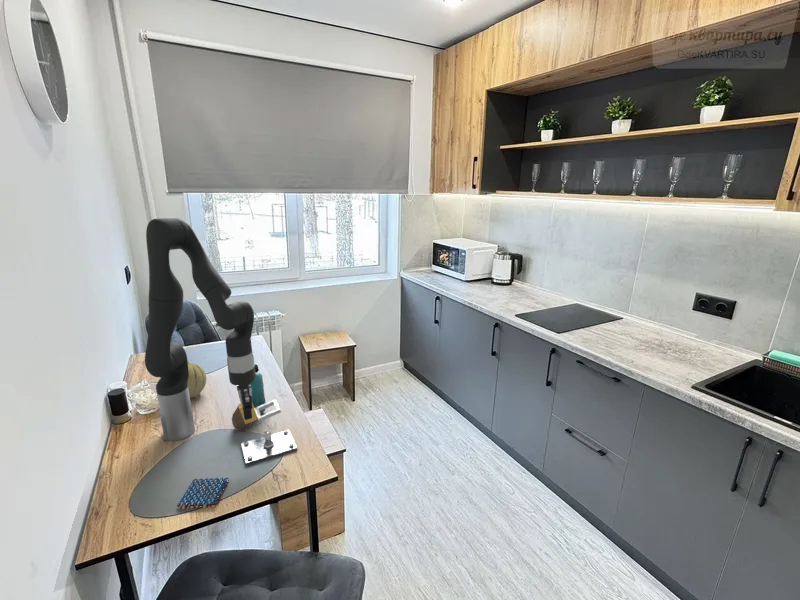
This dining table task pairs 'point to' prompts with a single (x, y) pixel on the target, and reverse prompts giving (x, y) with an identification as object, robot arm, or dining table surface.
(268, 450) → the toggle switch
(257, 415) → the end link
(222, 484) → the woven mat
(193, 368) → the cantaloupe
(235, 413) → the vase
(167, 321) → the robot arm
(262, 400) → the beverage bottle
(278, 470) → the dining table surface
